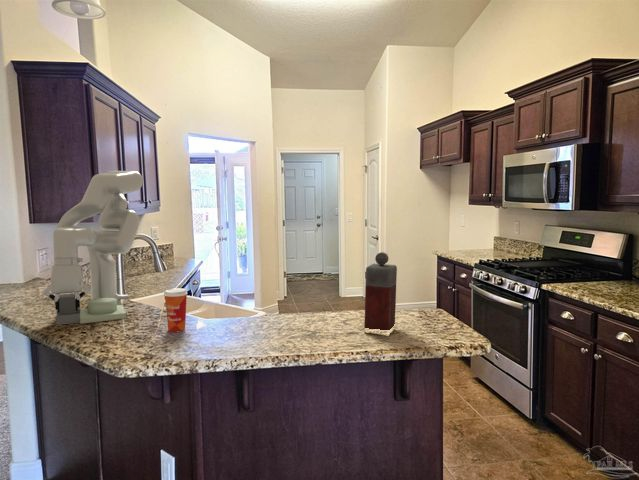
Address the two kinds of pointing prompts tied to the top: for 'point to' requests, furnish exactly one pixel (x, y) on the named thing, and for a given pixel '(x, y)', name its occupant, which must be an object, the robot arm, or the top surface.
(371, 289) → the square decanter
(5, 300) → the top surface
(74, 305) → the grey rectangular block
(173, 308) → the paper cup
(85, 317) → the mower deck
